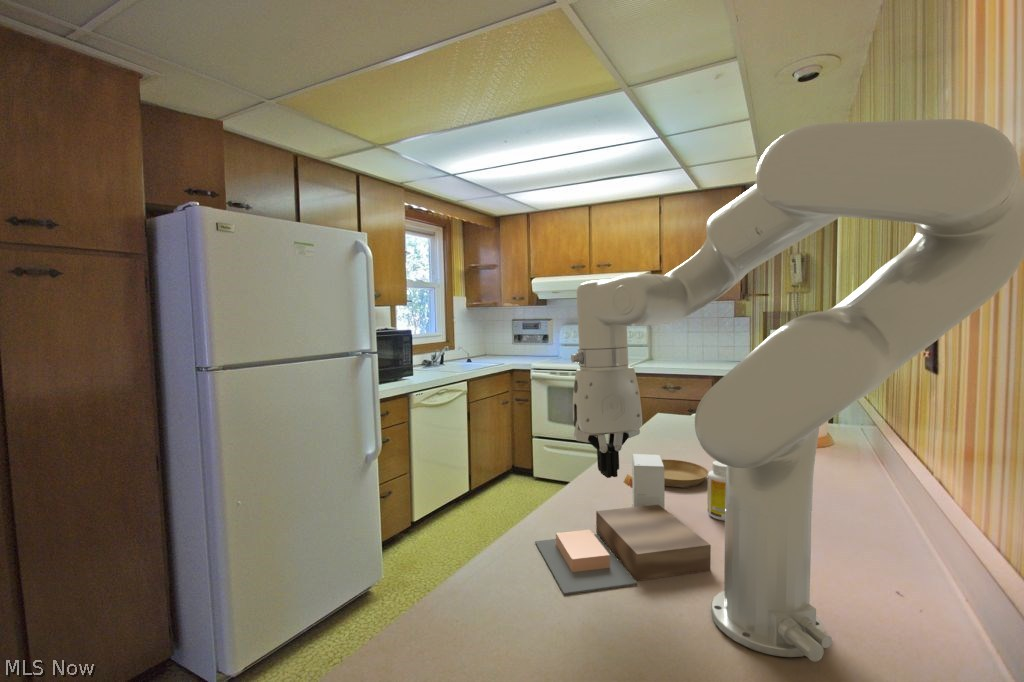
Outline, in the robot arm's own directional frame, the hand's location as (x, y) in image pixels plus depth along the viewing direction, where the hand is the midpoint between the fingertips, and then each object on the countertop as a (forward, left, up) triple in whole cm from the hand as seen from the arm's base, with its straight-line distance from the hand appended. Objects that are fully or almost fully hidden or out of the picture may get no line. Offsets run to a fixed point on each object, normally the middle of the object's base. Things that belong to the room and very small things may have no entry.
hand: (608, 474), depth 79 cm
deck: (+1, -7, -14) cm, 15 cm away
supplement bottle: (+10, -27, -14) cm, 32 cm away
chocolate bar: (+26, -18, -14) cm, 35 cm away
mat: (0, +5, -14) cm, 14 cm away
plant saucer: (+31, -29, -14) cm, 45 cm away
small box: (+15, -14, -14) cm, 25 cm away
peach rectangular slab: (+1, +4, -11) cm, 12 cm away
